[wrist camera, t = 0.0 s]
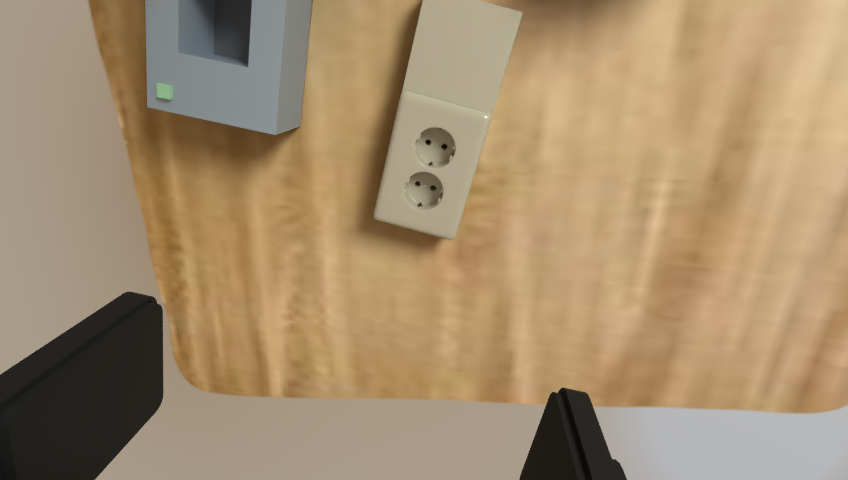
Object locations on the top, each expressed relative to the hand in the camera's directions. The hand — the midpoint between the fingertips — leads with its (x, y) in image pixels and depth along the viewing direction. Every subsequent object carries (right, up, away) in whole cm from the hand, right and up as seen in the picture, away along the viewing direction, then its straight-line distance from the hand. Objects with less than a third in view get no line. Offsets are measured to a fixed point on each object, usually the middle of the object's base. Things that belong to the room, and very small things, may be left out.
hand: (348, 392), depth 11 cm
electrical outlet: (+3, +14, +29) cm, 32 cm away
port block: (-12, +21, +27) cm, 36 cm away
